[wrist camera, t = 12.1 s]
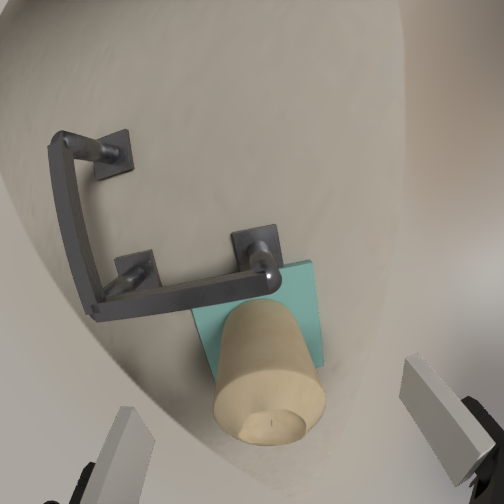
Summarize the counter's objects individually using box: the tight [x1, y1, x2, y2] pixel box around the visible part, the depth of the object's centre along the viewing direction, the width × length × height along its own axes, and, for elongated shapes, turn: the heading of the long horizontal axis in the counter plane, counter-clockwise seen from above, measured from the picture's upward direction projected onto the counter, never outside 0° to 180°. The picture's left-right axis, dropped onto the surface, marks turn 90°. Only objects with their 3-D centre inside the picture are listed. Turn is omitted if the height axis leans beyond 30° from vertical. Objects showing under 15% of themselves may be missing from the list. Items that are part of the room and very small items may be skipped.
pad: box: [192, 260, 324, 383], centre depth 21 cm, size 9×9×1 cm
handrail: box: [47, 129, 284, 322], centre depth 15 cm, size 12×12×8 cm
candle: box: [213, 298, 326, 446], centre depth 15 cm, size 6×6×10 cm
